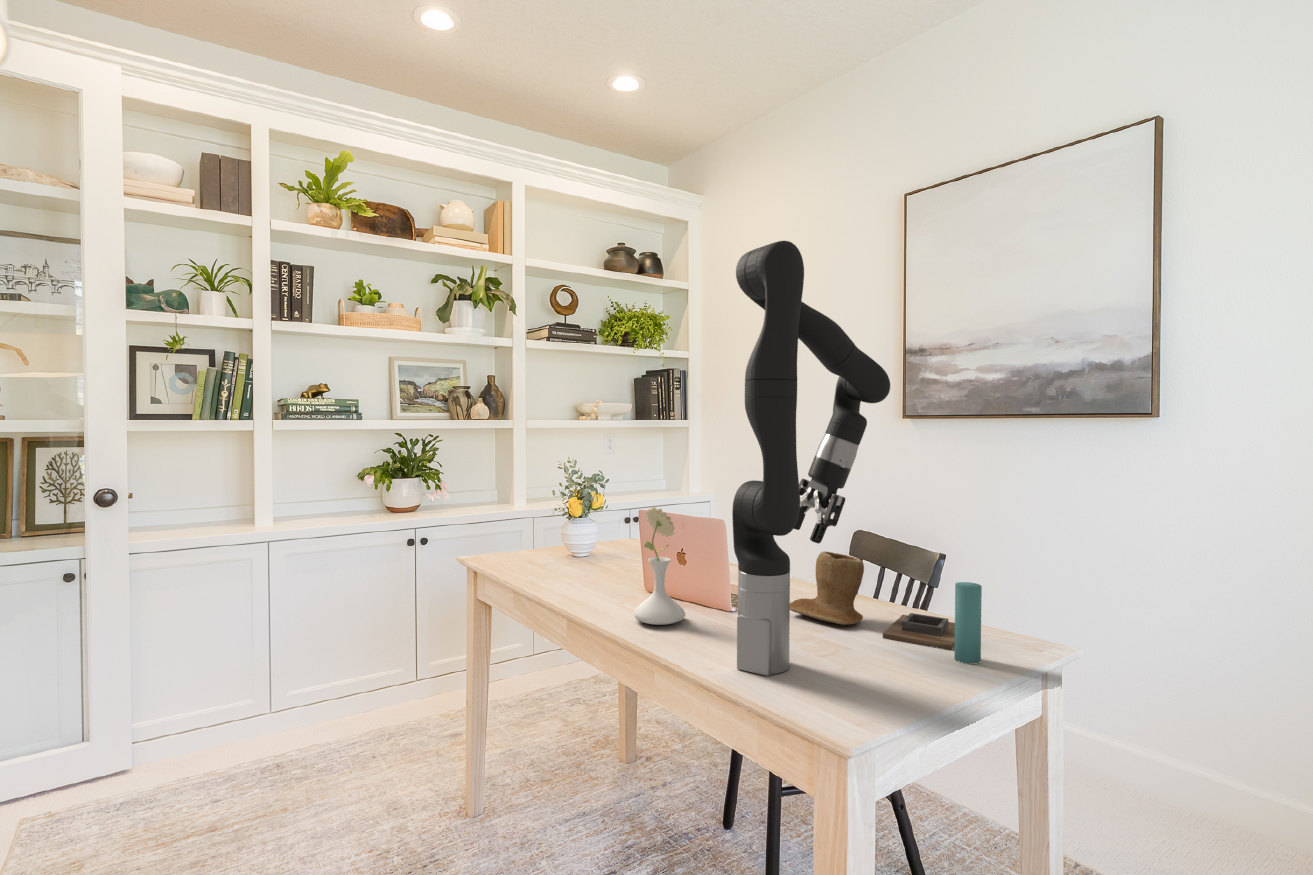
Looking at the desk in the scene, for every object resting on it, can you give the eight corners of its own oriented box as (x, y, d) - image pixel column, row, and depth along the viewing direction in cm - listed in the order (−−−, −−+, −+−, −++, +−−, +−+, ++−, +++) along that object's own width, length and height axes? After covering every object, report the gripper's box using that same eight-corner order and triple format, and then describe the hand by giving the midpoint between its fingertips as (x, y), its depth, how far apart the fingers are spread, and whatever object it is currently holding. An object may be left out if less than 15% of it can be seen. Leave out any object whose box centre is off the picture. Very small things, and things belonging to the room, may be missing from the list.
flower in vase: (693, 625, 143) (694, 510, 143) (644, 631, 139) (644, 512, 139) (670, 610, 155) (670, 503, 155) (624, 615, 151) (624, 505, 151)
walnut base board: (951, 650, 128) (951, 635, 128) (882, 637, 136) (882, 624, 135) (965, 629, 142) (965, 616, 141) (902, 618, 149) (902, 606, 149)
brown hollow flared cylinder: (875, 621, 147) (875, 554, 147) (843, 632, 139) (844, 561, 139) (817, 607, 159) (818, 544, 158) (786, 616, 151) (786, 550, 151)
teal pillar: (978, 666, 120) (979, 588, 120) (952, 661, 122) (953, 585, 122) (982, 658, 124) (983, 584, 123) (956, 654, 126) (957, 580, 126)
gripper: (801, 448, 139) (773, 519, 140) (837, 462, 126) (806, 541, 127) (830, 458, 141) (802, 529, 143) (868, 474, 128) (837, 551, 129)
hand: (804, 535), depth 135 cm, fingers open, 8 cm apart
